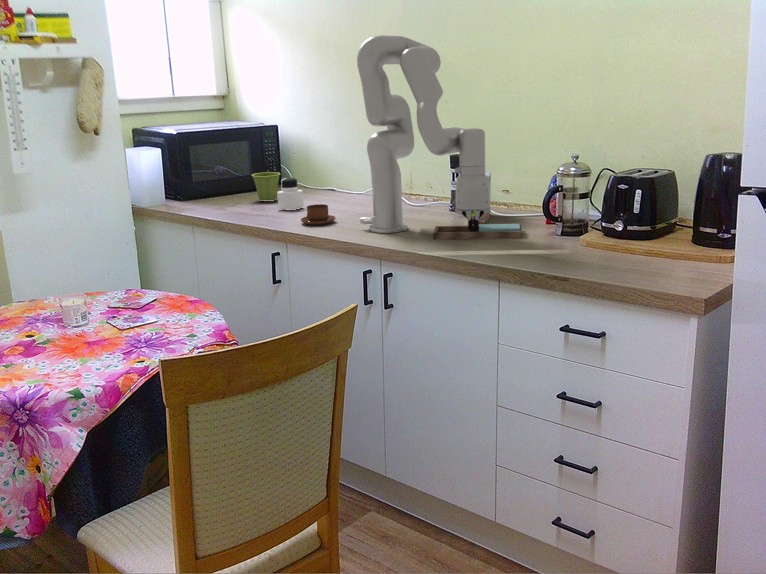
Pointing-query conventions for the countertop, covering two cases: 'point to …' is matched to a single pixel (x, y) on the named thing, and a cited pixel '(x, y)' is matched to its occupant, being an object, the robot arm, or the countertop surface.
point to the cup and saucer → (317, 215)
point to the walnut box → (472, 233)
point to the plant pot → (266, 185)
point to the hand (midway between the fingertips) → (473, 232)
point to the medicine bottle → (290, 195)
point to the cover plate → (498, 227)
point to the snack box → (484, 217)
